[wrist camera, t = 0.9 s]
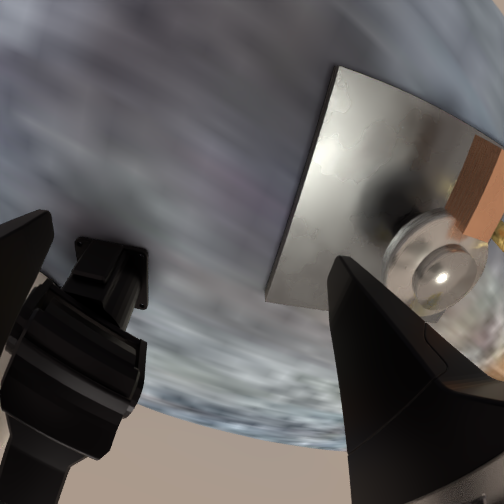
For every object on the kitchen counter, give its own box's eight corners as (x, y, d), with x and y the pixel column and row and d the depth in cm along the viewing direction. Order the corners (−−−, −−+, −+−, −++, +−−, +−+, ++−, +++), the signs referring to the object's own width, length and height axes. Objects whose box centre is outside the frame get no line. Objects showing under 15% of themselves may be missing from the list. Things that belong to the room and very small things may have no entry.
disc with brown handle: (442, 306, 20) (455, 329, 18) (362, 294, 20) (371, 322, 17) (520, 164, 13) (544, 180, 11) (443, 115, 13) (469, 128, 11)
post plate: (431, 314, 28) (455, 363, 23) (264, 291, 26) (267, 355, 20) (518, 158, 18) (567, 193, 12) (334, 65, 16) (371, 70, 10)
